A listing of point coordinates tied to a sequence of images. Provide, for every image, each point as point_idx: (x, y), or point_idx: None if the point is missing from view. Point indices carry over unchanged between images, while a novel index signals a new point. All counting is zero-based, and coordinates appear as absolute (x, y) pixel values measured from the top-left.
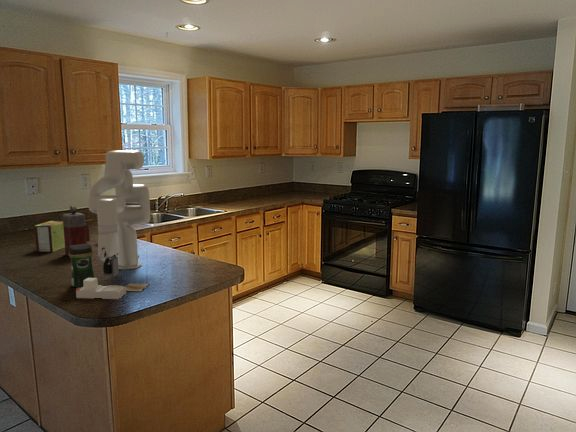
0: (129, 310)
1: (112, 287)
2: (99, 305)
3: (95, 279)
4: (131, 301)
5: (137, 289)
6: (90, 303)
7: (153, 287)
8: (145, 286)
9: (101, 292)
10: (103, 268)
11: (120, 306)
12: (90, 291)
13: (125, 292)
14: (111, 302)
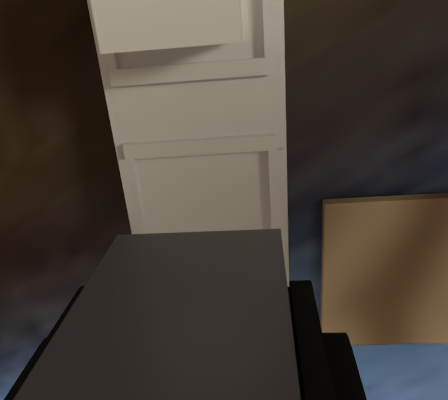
0: None
1: (251, 196)
2: (8, 194)
3: (186, 46)
4: None
5: (353, 316)
6: (16, 104)
7: (431, 374)
8: (427, 340)
9: (119, 154)
10: (73, 318)
11: (45, 325)
12: (94, 38)
13: None
14: (87, 244)
